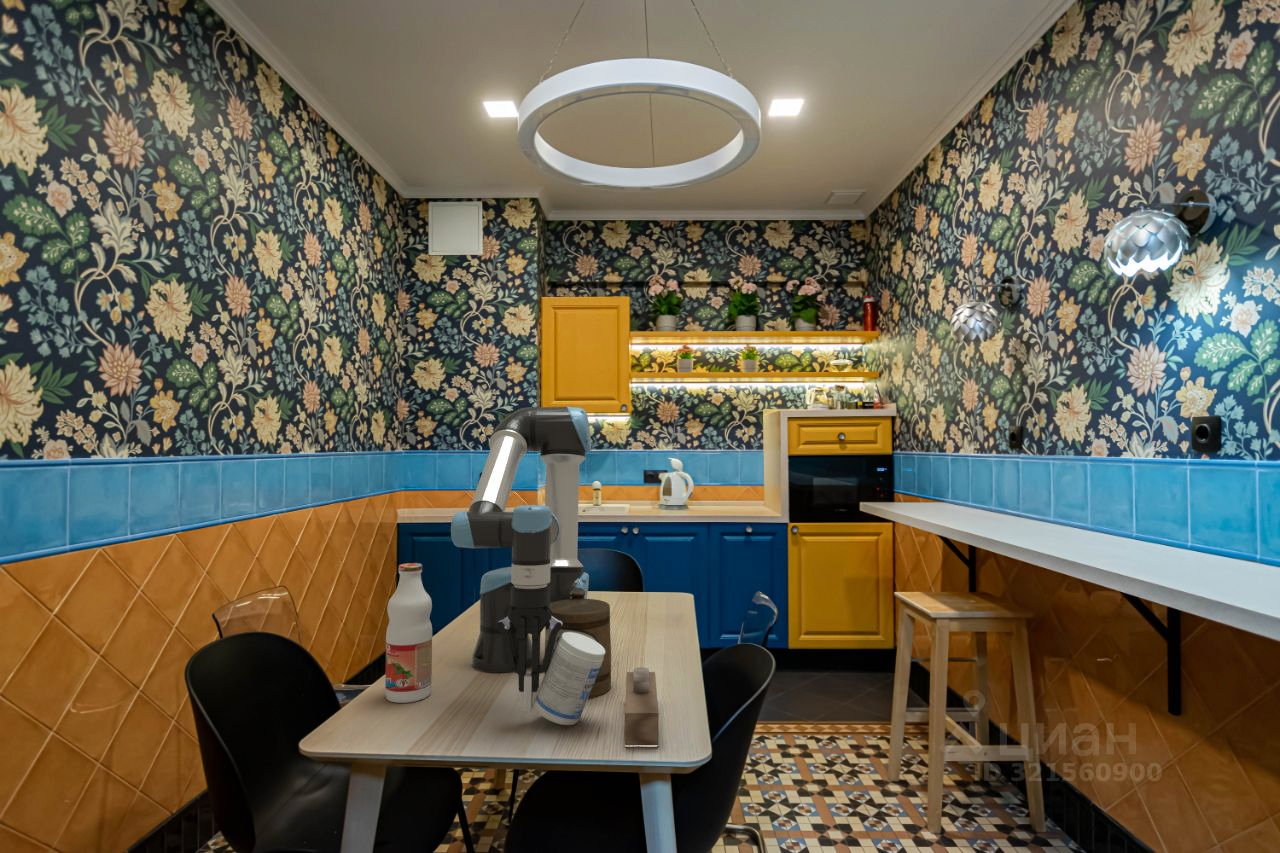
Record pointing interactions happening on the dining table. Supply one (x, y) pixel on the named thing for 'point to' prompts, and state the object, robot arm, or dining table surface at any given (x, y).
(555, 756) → the dining table surface
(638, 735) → the bench stop
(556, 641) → the wooden container
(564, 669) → the supplement tub
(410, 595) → the fruit juice
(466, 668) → the dining table surface
